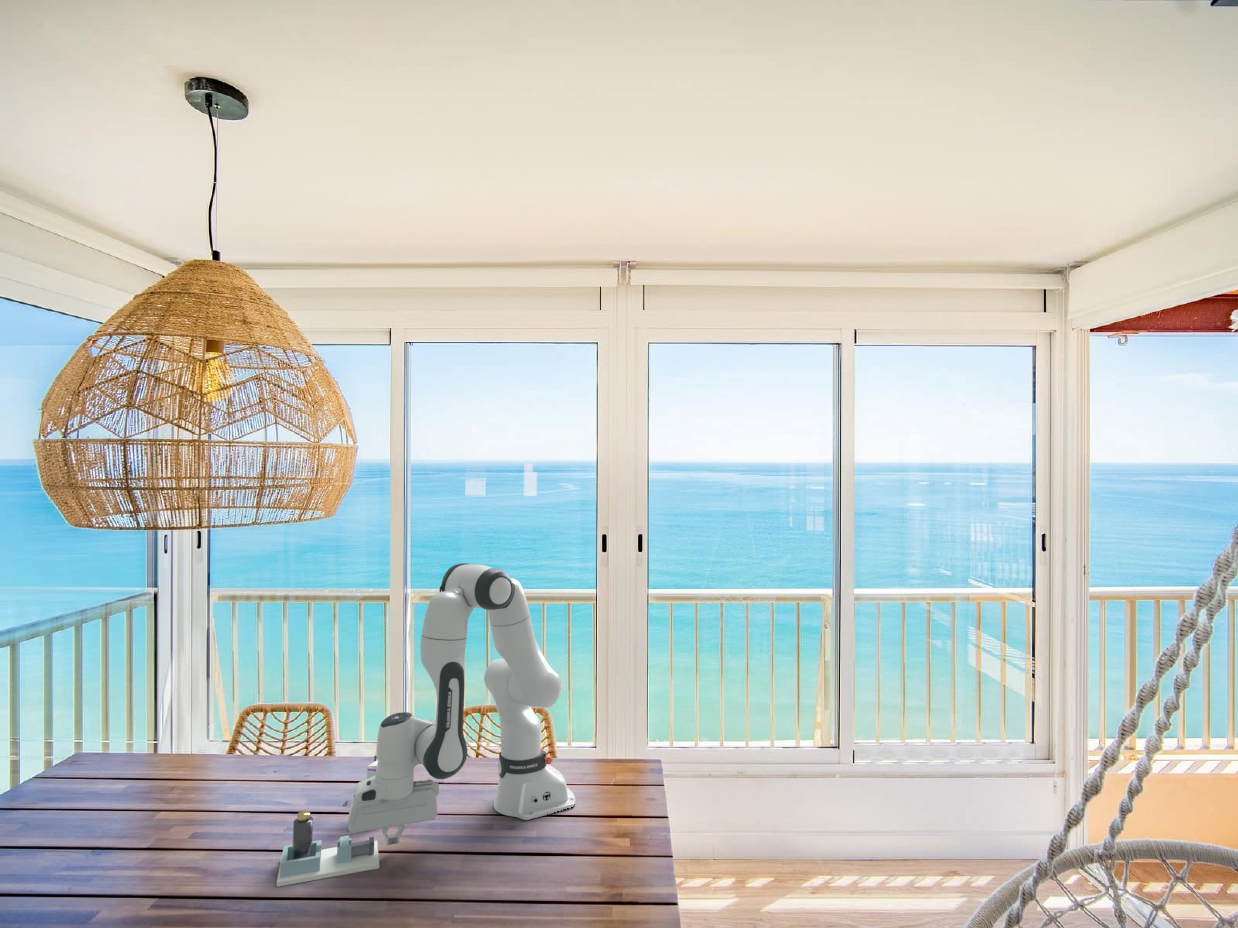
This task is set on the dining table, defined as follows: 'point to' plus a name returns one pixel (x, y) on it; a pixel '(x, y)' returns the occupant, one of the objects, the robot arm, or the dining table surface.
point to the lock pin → (362, 847)
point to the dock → (324, 863)
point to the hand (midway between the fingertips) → (392, 843)
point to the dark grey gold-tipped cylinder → (302, 835)
